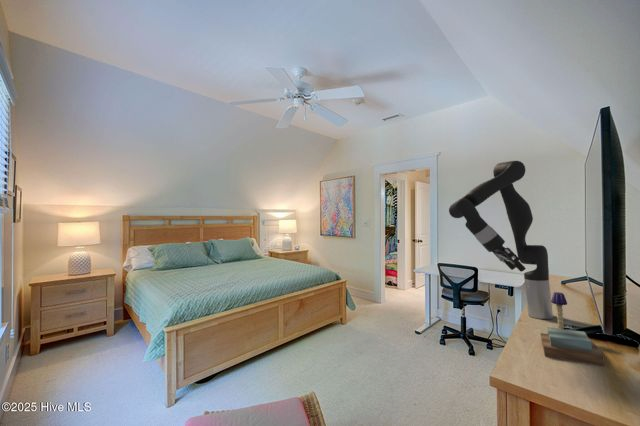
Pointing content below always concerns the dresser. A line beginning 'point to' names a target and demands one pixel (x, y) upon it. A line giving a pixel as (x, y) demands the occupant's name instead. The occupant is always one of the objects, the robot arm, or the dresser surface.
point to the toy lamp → (559, 307)
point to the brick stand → (571, 346)
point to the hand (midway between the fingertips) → (518, 269)
